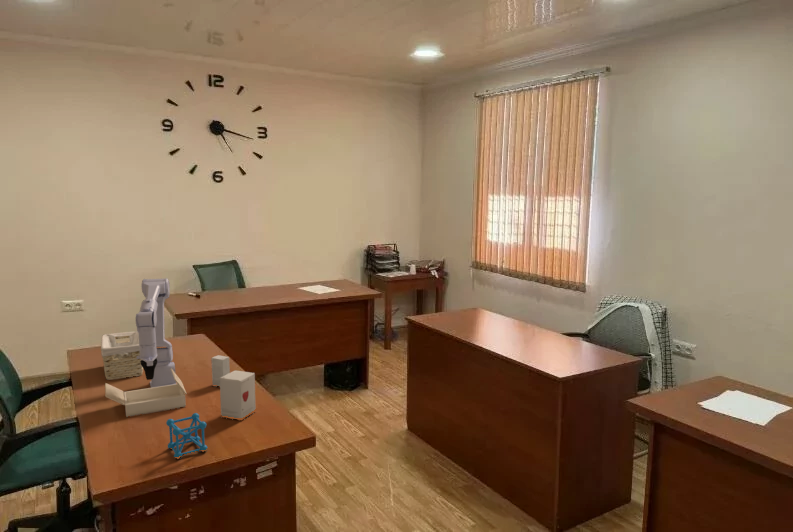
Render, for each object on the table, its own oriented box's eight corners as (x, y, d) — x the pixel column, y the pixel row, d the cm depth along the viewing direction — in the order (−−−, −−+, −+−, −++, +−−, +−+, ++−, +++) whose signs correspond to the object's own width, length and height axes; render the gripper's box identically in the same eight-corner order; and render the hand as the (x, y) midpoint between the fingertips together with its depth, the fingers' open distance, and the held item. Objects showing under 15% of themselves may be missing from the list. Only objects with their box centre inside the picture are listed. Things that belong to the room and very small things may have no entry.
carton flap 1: (105, 382, 207) (105, 383, 207) (106, 395, 195) (105, 396, 195) (123, 391, 210) (122, 392, 210) (124, 404, 198) (124, 405, 198)
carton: (181, 394, 220) (180, 383, 220) (185, 407, 208) (185, 395, 207) (124, 403, 211) (123, 391, 210) (126, 417, 199) (125, 405, 198)
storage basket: (144, 376, 240) (142, 343, 238) (102, 382, 233) (99, 348, 231) (143, 360, 261) (141, 330, 259) (104, 365, 254) (101, 333, 252)
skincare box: (230, 384, 231) (229, 356, 229) (223, 388, 227) (222, 359, 225) (219, 382, 234) (218, 354, 232) (212, 385, 230) (210, 357, 228)
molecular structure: (208, 452, 174) (207, 422, 172) (175, 461, 168) (173, 430, 166) (199, 440, 182) (197, 411, 180) (167, 448, 176) (165, 418, 174)
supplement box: (241, 421, 196) (240, 380, 193) (220, 418, 199) (218, 377, 197) (256, 412, 204) (255, 372, 202) (236, 408, 207) (234, 369, 205)
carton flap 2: (180, 382, 220) (181, 381, 220) (185, 394, 207) (186, 394, 208) (170, 368, 217) (171, 368, 217) (174, 380, 205) (175, 379, 205)
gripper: (134, 339, 210) (137, 374, 212) (136, 350, 197) (139, 387, 199) (155, 337, 213) (157, 371, 215) (158, 347, 200) (160, 384, 203)
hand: (149, 379), depth 208 cm, fingers closed
